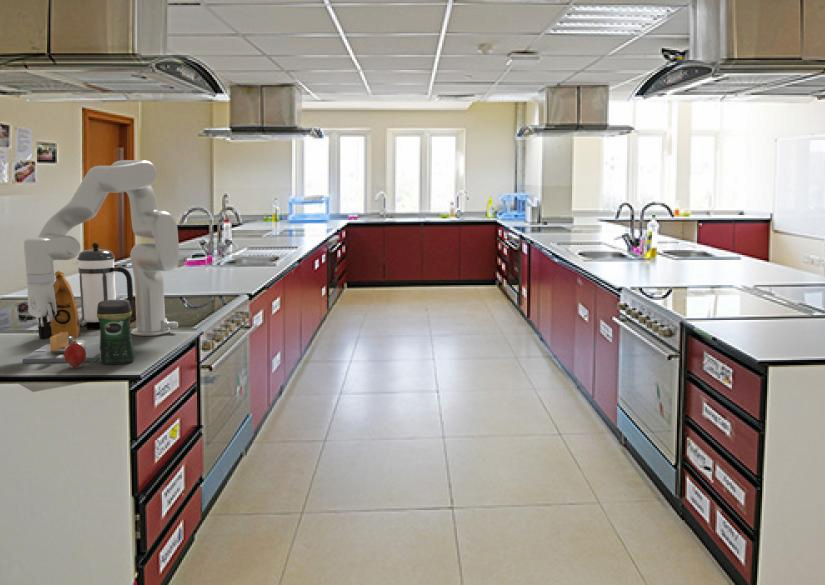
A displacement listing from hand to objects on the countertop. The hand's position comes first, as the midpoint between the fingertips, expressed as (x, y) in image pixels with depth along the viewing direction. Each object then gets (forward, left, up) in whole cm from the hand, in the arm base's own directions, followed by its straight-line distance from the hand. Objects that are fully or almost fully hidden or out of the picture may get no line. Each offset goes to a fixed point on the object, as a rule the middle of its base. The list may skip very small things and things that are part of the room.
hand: (45, 338), depth 241 cm
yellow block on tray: (-6, +1, -4) cm, 7 cm away
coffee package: (+4, -29, -6) cm, 30 cm away
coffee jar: (-23, +10, -6) cm, 26 cm away
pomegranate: (-13, +16, -6) cm, 21 cm away
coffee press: (-3, -52, -6) cm, 52 cm away
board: (-6, -1, -5) cm, 8 cm away
